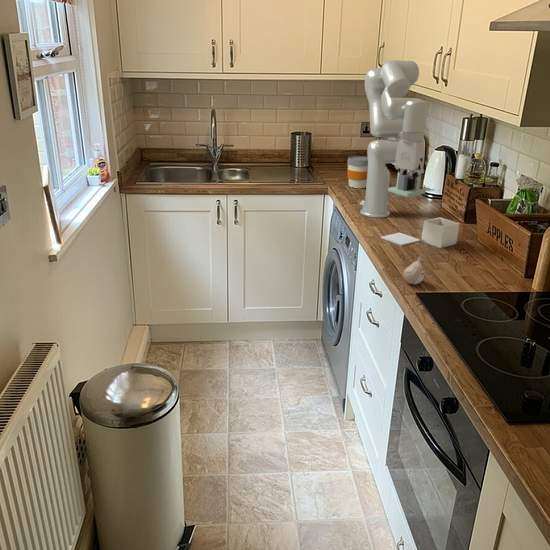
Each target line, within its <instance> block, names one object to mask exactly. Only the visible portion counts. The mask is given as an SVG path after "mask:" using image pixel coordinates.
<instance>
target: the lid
mask: <svg viewBox="0 0 550 550" xmlns="http://www.w3.org/2000/svg"><path fill="white" fill-rule="evenodd" d="M397 178H398V177H397ZM408 179H410V174H407V175H399V178H398V187H397V186H393V187H389V188H388V193H389V192H390V193H392V195H396V196H398V197H401V198H405V199H409V198H414V197H419V196H420V195H424V194H426V189H422V188H420V187H419V188H416V187H417V179H418V177H417V178H416V179H415V186H414V189H412V190H407V186H408Z"/></svg>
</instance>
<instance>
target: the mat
mask: <svg viewBox="0 0 550 550" xmlns="http://www.w3.org/2000/svg"><path fill="white" fill-rule="evenodd" d="M380 239H383V240H384V241H387V242H390V243H393V244H395V245H397V246H406V245H409V244H414V243H418V242H421V239H419V238H417V237H413V236H411V235H409V234H405V233H402V232H396V233H391V234H387V235H384V236H383V235H382V236H380Z"/></svg>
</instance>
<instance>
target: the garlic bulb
mask: <svg viewBox="0 0 550 550" xmlns="http://www.w3.org/2000/svg"><path fill="white" fill-rule="evenodd" d="M422 261H423V257H421V256H420V255H419V256H418V258H417V260H415V261H413V263H412V262H411V264H410V265H409V266H407V267H406V268H404V270H403V275H402V276H403V278H404V280H405V281H406V283H408V284H409V285H418V284H420V283H422V281H423V280H424V276H425V272H424V267H423V265H422V263H421V262H422Z"/></svg>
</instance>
